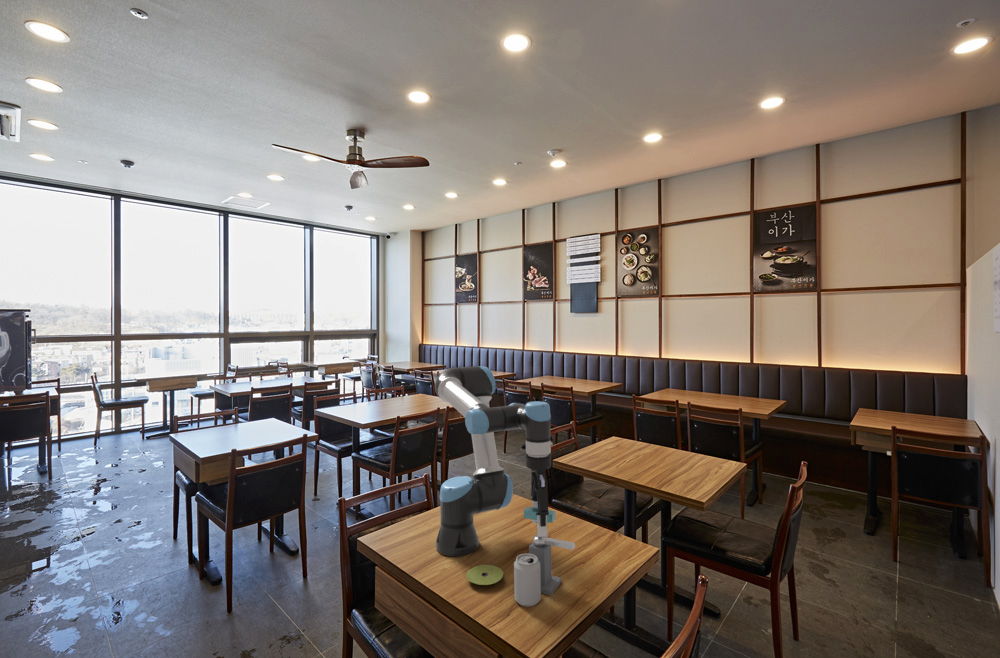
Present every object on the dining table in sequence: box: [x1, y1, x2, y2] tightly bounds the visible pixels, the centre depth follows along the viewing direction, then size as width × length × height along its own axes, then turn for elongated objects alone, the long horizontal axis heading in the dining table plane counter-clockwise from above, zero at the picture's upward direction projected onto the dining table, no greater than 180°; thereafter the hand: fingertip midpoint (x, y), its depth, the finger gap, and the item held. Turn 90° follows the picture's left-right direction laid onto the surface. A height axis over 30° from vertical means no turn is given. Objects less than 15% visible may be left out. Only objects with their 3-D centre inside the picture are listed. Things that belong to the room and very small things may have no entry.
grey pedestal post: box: [528, 542, 562, 596], centre depth 135 cm, size 10×8×12 cm
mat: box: [466, 564, 504, 586], centre depth 138 cm, size 11×11×2 cm
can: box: [513, 552, 542, 608], centre depth 127 cm, size 8×8×12 cm
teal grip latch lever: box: [523, 506, 576, 551], centre depth 134 cm, size 4×15×10 cm, turn 65°
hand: (539, 529), depth 135 cm, fingers open, 8 cm apart
